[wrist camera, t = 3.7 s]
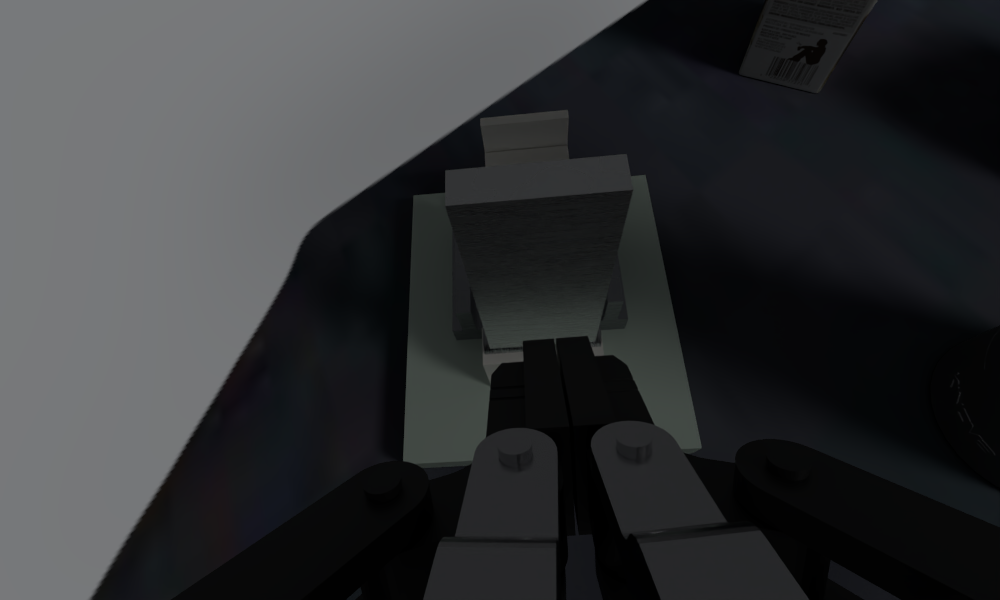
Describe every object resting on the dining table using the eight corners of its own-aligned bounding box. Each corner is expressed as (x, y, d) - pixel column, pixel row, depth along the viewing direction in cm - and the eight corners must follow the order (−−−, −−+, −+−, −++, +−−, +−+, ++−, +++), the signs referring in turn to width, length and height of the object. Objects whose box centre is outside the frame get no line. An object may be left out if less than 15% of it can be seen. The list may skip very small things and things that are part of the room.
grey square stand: (640, 193, 36) (665, 100, 28) (691, 453, 28) (746, 423, 20) (420, 212, 37) (386, 127, 29) (411, 468, 29) (363, 446, 21)
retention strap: (596, 324, 25) (637, 150, 14) (599, 350, 25) (645, 192, 13) (485, 332, 25) (434, 168, 14) (486, 358, 25) (434, 210, 13)
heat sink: (606, 215, 33) (614, 176, 29) (624, 328, 29) (635, 300, 26) (456, 228, 33) (445, 191, 30) (456, 340, 30) (444, 314, 26)
